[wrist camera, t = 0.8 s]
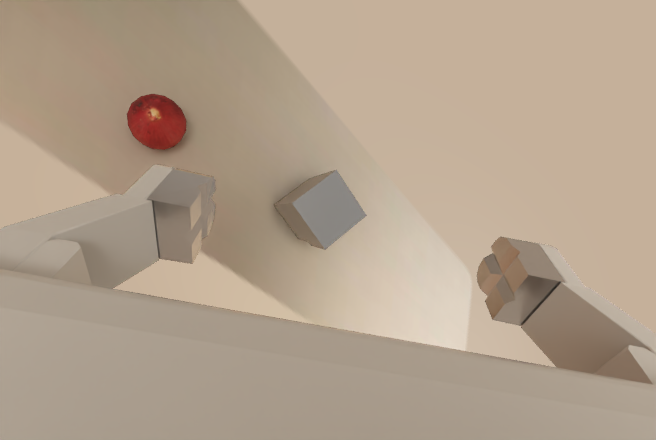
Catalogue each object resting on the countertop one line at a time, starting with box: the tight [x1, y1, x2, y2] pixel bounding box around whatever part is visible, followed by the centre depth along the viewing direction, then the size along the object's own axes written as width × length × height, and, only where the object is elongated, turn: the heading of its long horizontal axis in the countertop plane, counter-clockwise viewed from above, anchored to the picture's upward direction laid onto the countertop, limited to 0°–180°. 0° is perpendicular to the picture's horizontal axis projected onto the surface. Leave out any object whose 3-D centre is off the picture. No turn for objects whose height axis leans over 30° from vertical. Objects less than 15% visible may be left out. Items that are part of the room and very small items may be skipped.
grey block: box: [274, 170, 367, 249], centre depth 43 cm, size 6×6×10 cm
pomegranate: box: [127, 94, 186, 150], centre depth 38 cm, size 6×6×8 cm
